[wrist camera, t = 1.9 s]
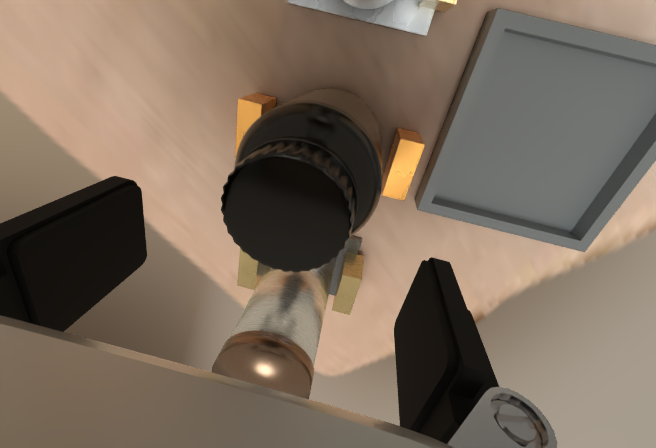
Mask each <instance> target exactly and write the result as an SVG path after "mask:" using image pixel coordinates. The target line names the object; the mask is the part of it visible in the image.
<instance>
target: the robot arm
mask: <svg viewBox="0 0 656 448" xmlns="http://www.w3.org/2000/svg"><path fill="white" fill-rule="evenodd" d="M146 257H147V250H146V239H145V227H144V215H143V203H142V192H141V189H140V187H138V186H137V184H136V182H135V181H133V180H129V179H125V178H121V177H117V176H113V177H110V178H108V179H105V180H103V181H100V182H98V183H96V184H94V185H91V186H89V187H86V188H84V189H82V190H79V191H77V192H74V193H72V194H70V195H67V196H65V197H63V198H60V199H58V200H55V201H53V202H51V203H48V204H46V205H43V206H41V207H39V208H36V209H34V210H32V211H29V212H27V213H24V214H22V215H20V216H17V217H15V218H13V219H10V220H8V221H5V222H3V223H1V224H0V448H557V440H556V437H555V433H554V430H553V429H552V427H551V425H550V423H549V421H548V420H547V419H546V417H545V416H544V415H543V414H542V412H541V411H540V410H539V409H538V408H537V407H536V406H535V405H534V404H533V403H532V402H530V401H529V400H528V399H526V398H525V397H524V396H522V395H520V394H519V393H517V392H515V391H513V390H510V389H508V388H503V387H499V385H498V382H497V380H496V377H495V375H494V372H493V369H492V367H491V364H490V361H489V359H488V356H487V354H486V351H485V348H484V346H483V343H482V341H481V338H480V335H479V333H478V330H477V327H476V324H475V322H474V319H473V317H472V314H471V312H470V311H469V310H468V309H467V307H466V304H465V302H464V299H463V296H462V294H461V291H460V288H459V286H458V283H457V280H456V277H455V275H454V272H453V269H452V267H451V264H450V262H447V261H443V260H439V259H435V258H432V257H431V258H430V259H429V260H428V261H425V260H423V261H422V263H421V265H420V267H419V269H418V271H417V274H416V276H415V278H414V281H413V283H412V285H411V287H410V290H409V292H408V294H407V296H406V299H405V301H404V303H403V306H402V308H401V310H400V312H399V315H398V317H397V319H396V322H395V327H394V338H395V354H396V369H397V385H398V400H399V416H400V426H397V425H394V424H391V423H388V422H384V421H381V420H378V419H374V418H371V417H368V416H364V415H361V414H357V413H354V412H350V411H347V410H344V409H341V408H337V407H334V406H331V405H327V404H324V403H320V402H316V401H312V400H309V399H306V398H302V397H298V396H295V395H291V394H288V393H284V392H281V391H277V390H273V389H270V388H266V387H263V386H259V385H255V384H252V383H248V382H245V381H241V380H238V379H234V378H230V377H227V376H223V375H220V374H216V373H212V372H209V371H204V370H201V369H198V368H194V367H190V366H187V365H183V364H179V363H176V362H172V361H168V360H165V359H161V358H157V357H154V356H150V355H146V354H143V353H139V352H135V351H131V350H128V349H124V348H121V347H117V346H113V345H110V344H106V343H102V342H98V341H95V340H91V339H87V338H83V337H80V336H76V335H72V334H68V333H65V332H64V331H65V330H66V329H67V328H68V327H70V326H71V325H72V324H73V323H74V322H75V321H77V320H78V319H79V318H80V317H81V316H82V315H83V314H85V313H86V312H87V311H88V310H90V309H91V308H92V307H93V306H94V305H95V304H97V303H98V302H99V301H100V300H101V299H102V298H104V297H105V296H106V295H107V294H108V293H110V292H111V291H112V290H113V289H114V288H115V287H116V286H118V285H119V284H120V283H121V282H123V281H124V280H125V279H126V278H127V277H128V276H130V275H131V274H132V273H133V272H134V271H135V270H137V269H138V268H139V267H140V266H141V265H142V264H143V263H144V262H145V260H146Z"/></svg>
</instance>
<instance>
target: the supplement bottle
mask: <svg viewBox="0 0 656 448" xmlns="http://www.w3.org/2000/svg"><path fill="white" fill-rule="evenodd" d="M382 181H383V169H382V139H381V131H380V127H379V124H378V121H377V119H376V117H375V115H374V113H373V112H372V110H371V109H370V107H369V106H368V105H367V104H366V103H365V102H364V101H363V100H362V99H360V98H359V97H357V96H356V95H354V94H352V93H350V92H348V91H345V90H341V89H335V88H324V89H318V90H315V91H311V92H309V93H306V94H304V95H302V96H300V97H297V98H295V99H293V100H290V101H288V102H286V103H284V104H281V105H279V106H277V107H275V108H273V109H271V110H269V111H268V112H266V113H265V114H263V115H262V116H261V117H259V118H258V119H257V120H256V121H255V122H254V123H253V124H252V125H251V126H250V127H249V128H248V130H247V131H246V133H245V134H244V136H243V138H242V140H241V142H240V145H239V147H238V150H237V154H236V159H235V169H234V171H232V172H231V173H230V174H229V175H228V182H226V184H225V185H224V186H223V190H224V194H223V195H222V197H221V201H222V204H223V205H222V208H221V211H222V213H223V215H224V218H223V221H224V223H225V224H226V226H227V230H228V233H229V234H230V235H231V236H232V237H233V240H234V242H235V243H236V244H237V245H239V246H240V248H241V250H242V251H243V252H245V253H247V254H248V255H249V256H250V257H251V258H252V259H254V260H257V261H259V262H260V263H261V264H262V265H265V266H269V267H271V268H272V269H280V270H282V271H284V272H289V271H292V272H296V273H297V272H300V271H310V270H312V269H317V268H320V267H321V266H322V265H324V264H328V263H330V261H331V260H332V259H333V258H335V257H337V256H338V255H339V252H340V250H342V249H343V248H345V246H346V242H347V240H348V239H349V237H351V236H352V235H354V234H355V233H356V232H358V231H359V230H360V229H361V228H362V227H363V226H364V225H365V224H366V223H367V222H368V220H369V219H370V217H371V216H372V214H373V213H374V211H375V209H376V207H377V204H378V202H379V198H380V194H381V189H382Z"/></svg>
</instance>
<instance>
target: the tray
mask: <svg viewBox="0 0 656 448" xmlns="http://www.w3.org/2000/svg"><path fill="white" fill-rule="evenodd" d="M655 161H656V45H653V44H648V43H644V42H640V41H636V40H631V39H627V38H623V37H619V36H614V35H610V34H606V33H602V32H598V31H593V30H589V29H585V28H581V27H576V26H572V25H568V24H564V23H559V22H555V21H551V20H547V19H542V18H538V17H534V16H530V15H525V14H521V13H517V12H513V11H509V10H504V9H500V8H497V9H495V10H492V11H489V12H487V14H486V16H485V19H484V22H483V24H482V27H481V29H480V32H479V35H478V37H477V40H476V42H475V45H474V47H473V50H472V53H471V55H470V58H469V60H468V63H467V65H466V68H465V71H464V73H463V76H462V78H461V81H460V83H459V86H458V89H457V91H456V94H455V96H454V99H453V101H452V104H451V107H450V109H449V112H448V114H447V117H446V119H445V122H444V125H443V127H442V130H441V132H440V135H439V137H438V140H437V143H436V145H435V148H434V150H433V153H432V155H431V158H430V161H429V163H428V166H427V168H426V171H425V173H424V176H423V179H422V181H421V184H420V186H419V189H418V191H417V194H416V197H415V203H416V207H417V210H420V211H424V212H428V213H432V214H436V215H440V216H444V217H448V218H452V219H456V220H459V221H463V222H467V223H471V224H475V225H479V226H483V227H487V228H491V229H495V230H499V231H503V232H507V233H511V234H515V235H519V236H523V237H527V238H531V239H535V240H539V241H542V242H546V243H550V244H554V245H558V246H562V247H566V248H570V249H574V250H578V251H582V252H585V251H586V250H587V248H588V247H589V246H590V245H591V243H592V242H593V241H594V239H595V238H596V237H597V236H598V234H599V233H600V232H601V230H602V229H603V228H604V226H605V225H606V224H607V223H608V221H609V220H610V219H611V217H612V216H613V215H614V214H615V212H616V211H617V210H618V208H619V207H620V206H621V205H622V203H623V202H624V201H625V199H626V198H627V197H628V195H629V194H630V193H631V192H632V190H633V189H634V188H635V186H636V185H637V184H638V183H639V181H640V180H641V179H642V177H643V176H644V175H645V174H646V172H647V171H648V170H649V168H650V167H651V166H652V164H653V163H654V162H655Z"/></svg>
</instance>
